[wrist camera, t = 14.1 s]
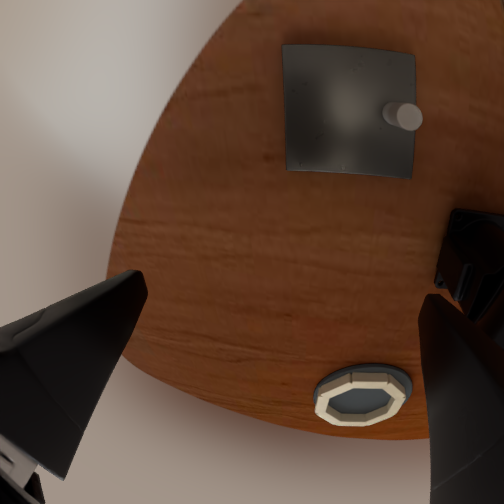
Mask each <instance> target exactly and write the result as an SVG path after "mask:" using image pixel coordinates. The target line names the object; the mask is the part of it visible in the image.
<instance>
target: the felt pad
mask: <svg viewBox="0 0 504 504" xmlns="http://www.w3.org/2000/svg"><path fill="white" fill-rule="evenodd" d="M353 372H362V373H387V375H388V374H391V375H392V376H393V377H394V378H395V379H396V380H397V381H398V382H399V383H400V384H401V385H402V386H403V387H405V394H406V399H405V400H404V402H403V404H404V403H405V402H406V401H407V400H408V398H409V397H410V395H411V392H412V382H411V379H410V377H409V376H408V374H407V373H406V372H404V371H403V370H401V369H399V368H397V367H394V366H390V365H385V364H361V365H355V366H351V367H347V368H344V369H341V370H338V371H336V372H334V373H332V374H330V375H328V376H327V377H325V378H324V379H323V380H322V381H320V383H319V384H318V385H317V387H316V388H315V391H314V397H313V399H314V403H315V405H316V400H317V396H318V391H319V388H321V386H322V385H324V384H327V383H329V382H331V381H333V380H335V379H338V378H340V377H342V376H344V375H346V374H348V373H350V374H351V375H352V373H353ZM391 397H392V396H391V395H389V394H388V393H387V392H386V391H385V390H383V389H367V388H353V389H350V390H348V391H346V392H343V393H341V394H339V395H336V396H334V397H332V398H329V402H328V405H329V406H330V407H332V408H333V409H335V410H336V411H338V412H340V413H342V414H367V413H369V412H372V411H374V410H377V409H379V408H381V407H384V406H386V405H387V404H388V402H389V400H390V398H391ZM403 404H402V405H403ZM402 405H401V406H402Z"/></svg>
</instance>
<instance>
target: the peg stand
mask: <svg viewBox="0 0 504 504" xmlns="http://www.w3.org/2000/svg"><path fill="white" fill-rule="evenodd" d="M282 63H283V84H284V108H285V140H286V170H288V171H314V172H333V173H348V174H361V175H373V176H384V177H394V178H403V179H411V178H412V168H413V157H414V144H415V130H416V129H418V128H419V127H420V126H421V124H422V113H421V111H420V109H419V108H418V107H417V106H416V68H415V55H412V54H407V53H401V52H395V51H389V50H382V49H374V48H365V47H355V46H342V45H321V44H284V45H282Z"/></svg>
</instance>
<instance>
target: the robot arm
mask: <svg viewBox="0 0 504 504" xmlns="http://www.w3.org/2000/svg"><path fill="white" fill-rule="evenodd" d="M457 214H459V217H458V218H456V215H457ZM441 280H442V282H440V283H438V282H439V281H441ZM434 284H435V286H436V287H437V288H440V289H448V290H449V292H450V294H451V296H452V298H453V300H454V301H458V303H459V305H460V307H461V309H462V311H463V313H464V314H463V313H462V312H460V311H459V310H458V309H457V308H456V307H455V306H453V305H452V304H451V303H450V302H448V301H447V300H446V299H445V298H444V297H442V296H441V295H440V294H427V295H426V297H425V299H424V302H423V305H422V308H421V311H420V314H419V317H418V326H419V337H420V351H421V365H422V373H423V379H424V387H425V394H426V403H427V412H428V423H429V437H430V459H431V489H430V490H431V492H430V504H504V215H500V214H494V213H488V212H481V211H475V210H468V209H461V208H455V209H454V210H453V211H452V212H451V216H450V221H449V226H448V230H447V234H446V236H445V237H444V239H443V243H442V247H441V251H440V255H439V259H438V263H437V272H436V276H435V279H434ZM147 296H148V290H147V287H146V283H145V280H144V276H143V273H142V272H141V271H139V270H128V271H126V272H123V273H121V274H119V275H117V276H114V277H112V278H110V279H107V280H105V281H103V282H101V283H99V284H96V285H94V286H92V287H89V288H87V289H85V290H83V291H81V292H78V293H76V294H74V295H72V296H70V297H68V298H65V299H63V300H61V301H59V302H57V303H54V304H52V305H50V306H48V307H46V308H44V309H41V310H39V311H37V312H35V313H33V314H31V315H28V316H26V317H24V318H22V319H19V320H17V321H15V322H12V323H10V324H7V325H5V326H3V327H0V504H45V500H44V496H43V491H42V488H41V483H40V478H39V475H38V474H37V473H36V472H34V470H35V469H36V467H37V465H38V464H39V465H40V466H41V467H43V468H44V469H46V470H47V471H49V472H50V473H51V474H53V475H55V476H56V477H58V478H59V479H61V480H62V481H64V479H65V477H66V475H67V473H68V470H69V467H70V465H71V462H72V460H73V457H74V455H75V453H76V450H77V448H78V445H79V443H80V441H81V439H82V436H83V434H84V431H85V429H86V427H87V425H88V422H89V420H90V418H91V416H92V413H93V411H94V409H95V407H96V405H97V403H98V401H99V399H100V396H101V394H102V392H103V390H104V388H105V386H106V384H107V382H108V380H109V378H110V376H111V374H112V372H113V370H114V368H115V366H116V364H117V362H118V360H119V358H120V356H121V354H122V352H123V350H124V348H125V346H126V344H127V342H128V341H129V339H130V337H131V335H132V333H133V330H134V328H135V326H136V323H137V321H138V318H139V316H140V313H141V311H142V309H143V306H144V304H145V302H146V299H147Z"/></svg>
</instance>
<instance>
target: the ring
mask: <svg viewBox="0 0 504 504" xmlns="http://www.w3.org/2000/svg"><path fill="white" fill-rule="evenodd" d="M353 388H367V389H383V390H385V391H386V392H387V393H388V394H389V395H391V396H392V397H391V398H390V400H389V402H388V404H387V405H386V406H384V407H381V408H379V409H377V410H374V411H372V412H369V413H367V414H342V413H340V412H338V411H336V410H335V409H333V408H332V407H330V406H329V405H328V402H329V398H332V397H334V396H336V395H339V394H341V393H343V392H346V391H348V390H350V389H353ZM405 399H406V394H405V387H403V386H402V385H401V384H400V383H399V382H398V381H397V380H396V379H395V378H394V377H393V376H392V375H391V374H388V375H387V373H362V372H353V373H352V375H351V374H350V373H348V374H346V375H344V376H342V377H340V378H338V379H335V380H333V381H331V382H329V383H327V384H324V385H322V386H321V388H319V391H318V396H317V400H316V405H315V413H316V415H318V416H320V417H321V418H323V419H325V420H326V421H328V422H330V423H331V424H333V425H336V424H337V426H366V425H371V424H374V423H376V422H379V421H382V420H384V419H387V418H389V417H392V416H394V414H396V413H397V412H398V410H399V408H400V407H401V405H402V404H403V402H404V400H405Z"/></svg>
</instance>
